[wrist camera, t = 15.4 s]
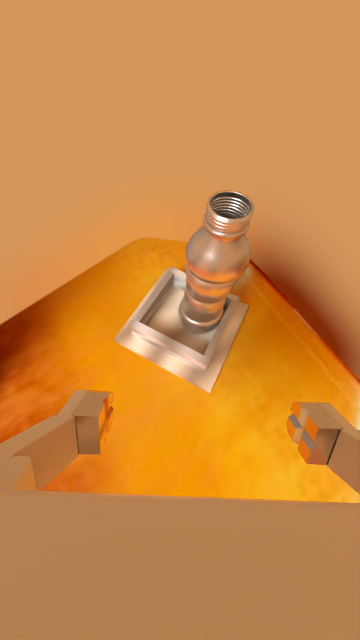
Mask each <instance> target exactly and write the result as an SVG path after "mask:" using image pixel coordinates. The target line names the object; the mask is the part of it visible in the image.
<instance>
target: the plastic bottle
mask: <svg viewBox="0 0 360 640" xmlns="http://www.w3.org/2000/svg"><path fill="white" fill-rule="evenodd" d="M253 210H254V204H253V202H252V201H251V200H250V199H249V198H248V197H247V196H246V195H244V194H242V193H239V192H236V191H220V192H217V193H215V194H213V195H212V196H211V197H210V198H209V201H208V203H207V209H206V213H205V215H204V220H203V224H204V225H203V226H202V227H200V228H199V229H198V230H197V231H196V232H195V233H194V234H193V235H192V237H191V238H190V240H189V242H188V244H187V246H186V249H185V266H186V289H185V293H184V296H183V299H182V300H181V302H180V305H179V308H178V318H179V322H180V324H181V326H182V327H183V328H184V329H185V330H186V331H188V332H190V333H192V334H196V335H202V334H206V333H209V332H211V331H212V330H213V329H214V328H215V327H216V326H218V324H219V323H220V321H221V318H222V314H223V307H224V303H225V300H226V298H227V296H228V294H229V292H230V291H231V289H232V287H233V286H234V284H235V283H236V282H237V280H238V279H239V278H240V276H241V275H242V274H243V273H244V271H245V269H246V268H247V266H248V264H249V260H250V251H251V250H250V245H249V242H248V239H247V237H246V234H245V233H246V232H247V230H248V228H249V225H250V219H251V217H252V214H253Z"/></svg>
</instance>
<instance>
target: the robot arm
mask: <svg viewBox="0 0 360 640" xmlns="http://www.w3.org/2000/svg"><path fill="white" fill-rule="evenodd" d="M112 401H113V393H112V392H108V391H95V390H79V389H78V390H76V391H75V392H74V393H73V394H72V396H71V397H70V398H69V400H68V401H67V402H66V404H65V405H64V406H63V408H62V409H61V411H60V412H59V413H58V415H53V416H51V417H49V418H47V419H45V420H43V421H42V422H40V423H38V424H36V425H34V426H32V427H31V428H29V429H27V430H25V431H23V432H21V433H20V434H18V435H16V436H14V437H12V438H10V439H9V440H7V441H5V442H3V443H1V444H0V640H360V503H338V502H313V501H288V500H263V499H237V498H211V497H185V496H159V495H134V494H108V493H82V492H56V491H40V490H41V489H43V488H44V487H45V486H46V485H47V484H48V483H49V482H50V481H51V480H52V479H53V478H55V477H56V476H57V475H58V474H59V473H60V472H61V471H62V470H63V469H64V468H65V467H66V466H68V465H69V464H70V463H71V462H72V461H73V460H74V459H75V458H76V457H77V456H78V454H101V452H102V449H103V446H104V444H105V441H106V434H107V433H108V432H109V431H110V428H111V425H112V420H113V408H112V406H111V403H112ZM291 411H292V413H293V414H292V415H291V416H289V417H288V421H287V429H288V433H289V435H290V437H291V439H292V440H293V441H294V442H295V443H297V444H298V451H299V452H300V454H301V455H302V457H303V459H304V460H305V462H306V464H318V465H328V466H327V467H329V468H330V469H331V470H332V471H333V472H334V473H336V474H337V475H338V476H339V477H340V478H341V479H343V480H344V481H345V482H346V483H347V484H348V485H349V486H351V487H352V488H353V489H354V490H355V491H356V492H358V493H359V494H360V430H356V429H355V428H354V427H353V426H352V425H351V424H350V423H349V422H348V421H347V420H346V419H345V418H344V417H343V416H342V415H341V414H340V413H339V412H338V411H337V410H336V409H335V408H334V407H333V406H332V405H331V404H329V403H307V402H294V403H293V404H292V406H291Z"/></svg>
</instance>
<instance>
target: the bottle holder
mask: <svg viewBox="0 0 360 640" xmlns="http://www.w3.org/2000/svg"><path fill="white" fill-rule="evenodd" d="M185 289H186V273H184V272H182V271H180V270H178V269H176V268H173V267H171V268H170V269H168V268H166V270H165V271H164V272H163V274H162V275H161V276H160V278H159V279H158V280H157V282H156V283H155V284H154V286H153V287H152V289H151V290H150V291H149V293H148V294H147V295H146V297H145V298H144V299H143V301H142V302H141V303H140V305H139V306H138V307H137V309H136V310H135V311H134V313H133V314H132V316H131V317H130V318H129V320H128V321H127V322H126V324H125V325H124V326H123V328H122V329H121V330H120V332H119V333H118V334H117V336H116V337H115V338H114V340H115V342H117V343H119V344H120V345H122V346H124V347H126V348H128V349H130V350H131V351H133V352H135V353H137V354H139V355H140V356H142V357H144V358H146V359H148V360H150V361H151V362H153V363H155V364H157V365H159V366H161V367H162V368H164V369H166V370H168V371H170V372H171V373H173V374H175V375H177V376H179V377H181V378H182V379H184V380H186V381H188V382H190V383H191V384H193V385H195V386H197V387H199V388H201V389H202V390H204V391H206V392H208V393H210V392H211V390H212V387H213V385H214V383H215V381H216V378H217V376H218V374H219V372H220V370H221V367H222V365H223V363H224V361H225V358H226V356H227V354H228V352H229V349H230V347H231V345H232V343H233V340H234V338H235V336H236V334H237V332H238V329H239V327H240V325H241V323H242V320H243V318H244V316H245V314H246V311H247V309H248V307H249V305H247V304H245V303H243V302H241V301H239V299H240V297H238V296H236V295H233V294H231V293H229V294H228V296H227V298H226V300H225V303H224V307H223V314H222V318H221V321H220V323H219V324H218V326H216V327H215V328H214V329H213V330H212V331H211V332H209V333H206V334H202V335H196V334H192V333H190V332H188V331H186V330H185V329H184V328H183V327H182V326H181V324H180V322H179V318H178V308H179V305H180V302H181V300H182V299H183V296H184V293H185Z"/></svg>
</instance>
